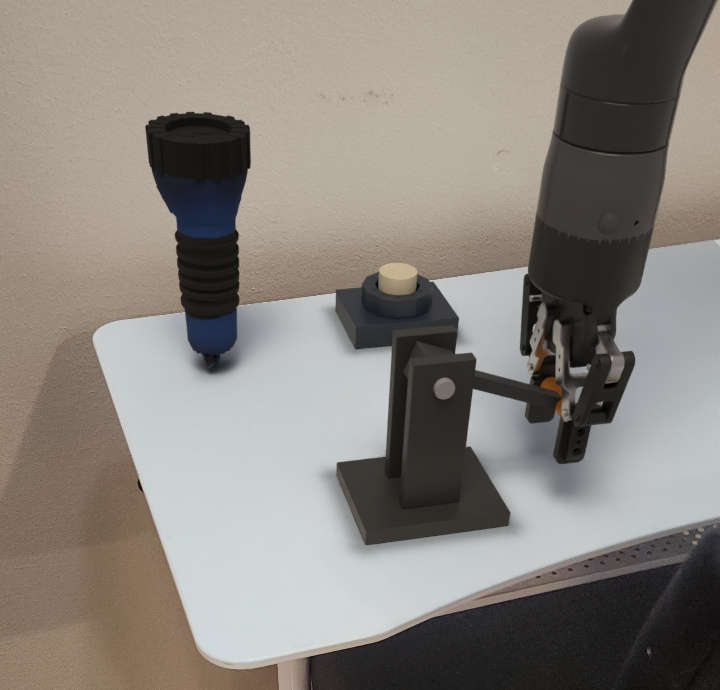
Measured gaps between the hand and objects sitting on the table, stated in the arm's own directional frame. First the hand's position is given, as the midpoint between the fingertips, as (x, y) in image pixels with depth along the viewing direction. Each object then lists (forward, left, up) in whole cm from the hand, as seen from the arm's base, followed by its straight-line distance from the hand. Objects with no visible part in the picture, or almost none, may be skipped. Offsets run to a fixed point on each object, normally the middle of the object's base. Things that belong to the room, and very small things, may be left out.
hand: (552, 438), depth 75 cm
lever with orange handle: (+6, 0, +4) cm, 7 cm away
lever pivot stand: (+10, 0, -4) cm, 11 cm away
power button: (+4, -28, 0) cm, 28 cm away
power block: (+4, -28, -4) cm, 29 cm away
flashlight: (+22, -24, -4) cm, 33 cm away
